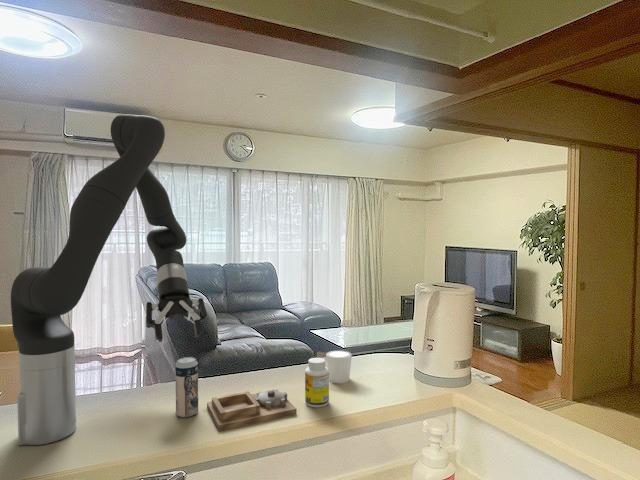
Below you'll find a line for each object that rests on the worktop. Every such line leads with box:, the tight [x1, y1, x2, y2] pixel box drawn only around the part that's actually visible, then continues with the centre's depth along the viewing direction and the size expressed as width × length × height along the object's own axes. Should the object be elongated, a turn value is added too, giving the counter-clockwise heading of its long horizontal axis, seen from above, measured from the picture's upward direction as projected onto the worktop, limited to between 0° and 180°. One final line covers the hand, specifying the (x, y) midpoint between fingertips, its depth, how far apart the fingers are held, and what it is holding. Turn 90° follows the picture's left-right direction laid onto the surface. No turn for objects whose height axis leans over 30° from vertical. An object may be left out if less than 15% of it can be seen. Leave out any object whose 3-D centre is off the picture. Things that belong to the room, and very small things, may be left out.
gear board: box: [206, 389, 298, 432], centre depth 93 cm, size 17×12×3 cm
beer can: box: [174, 356, 199, 418], centre depth 92 cm, size 5×5×12 cm
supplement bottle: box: [304, 357, 330, 408], centre depth 97 cm, size 6×6×10 cm
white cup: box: [325, 350, 353, 384], centre depth 112 cm, size 7×7×7 cm
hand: (179, 338), depth 100 cm, fingers open, 8 cm apart
